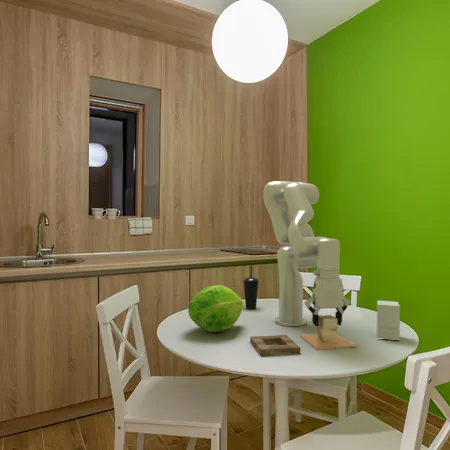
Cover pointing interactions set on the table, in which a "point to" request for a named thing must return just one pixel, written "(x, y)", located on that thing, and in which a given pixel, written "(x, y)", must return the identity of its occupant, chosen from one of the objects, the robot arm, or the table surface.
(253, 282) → the drinking cup
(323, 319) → the maple block
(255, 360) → the table surface
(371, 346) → the table surface
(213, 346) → the table surface
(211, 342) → the table surface
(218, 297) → the lettuce
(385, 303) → the supplement box
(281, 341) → the pocket block
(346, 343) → the pad
